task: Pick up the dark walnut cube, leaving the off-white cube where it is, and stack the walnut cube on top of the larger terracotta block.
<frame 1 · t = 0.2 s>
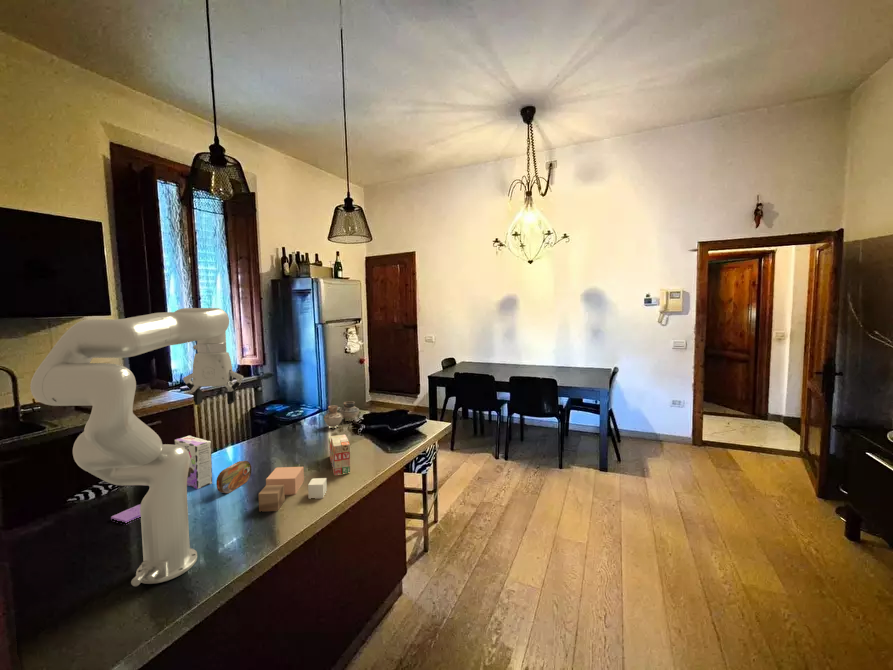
hand: (215, 403, 120), 36 cm above the countertop, tool pointing down, fingers open, 9 cm apart
pottery: (342, 424, 218), on the countertop
terracotta block: (285, 488, 141), on the countertop
sponges: (140, 514, 124), on the countertop
off-white cube: (317, 495, 136), on the countertop
walnut cube: (272, 506, 128), on the countertop
tin: (234, 487, 142), on the countertop
stack of blocks: (339, 465, 162), on the countertop
candy box: (194, 483, 145), on the countertop
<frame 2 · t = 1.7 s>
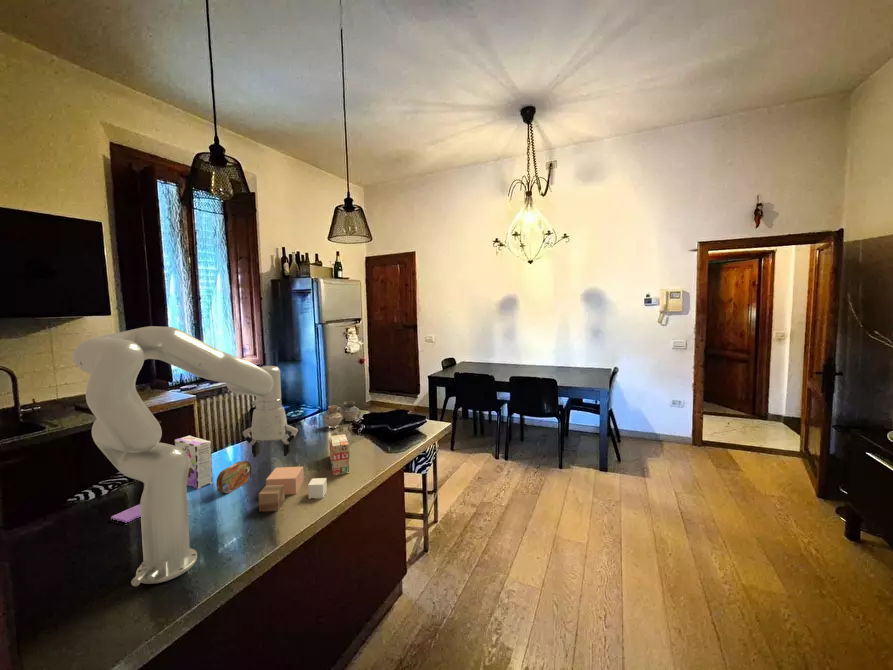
hand: (271, 455, 127), 17 cm above the countertop, tool pointing down, fingers open, 9 cm apart
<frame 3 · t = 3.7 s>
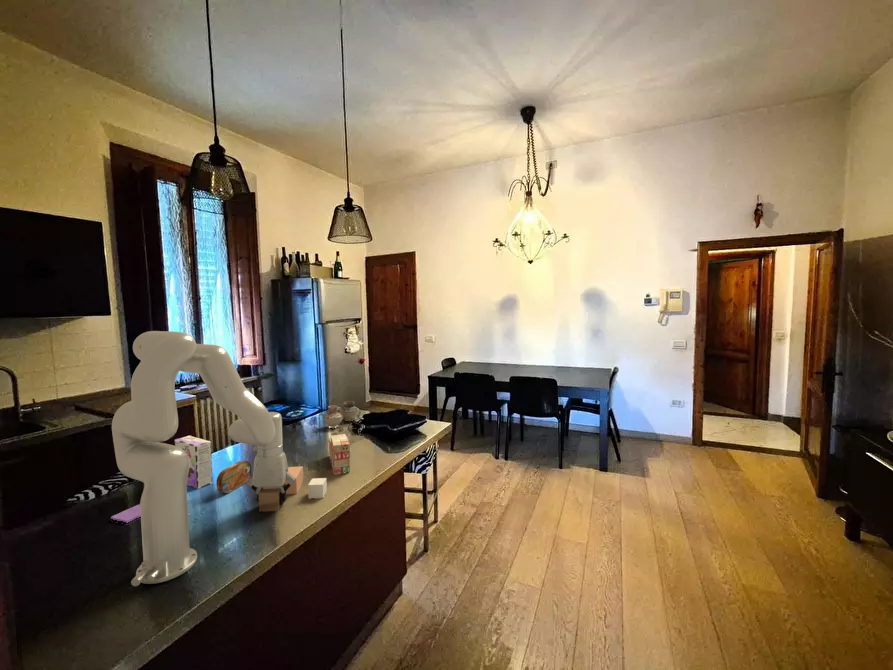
hand: (272, 502, 128), 1 cm above the countertop, tool pointing down, fingers closed on walnut cube, 6 cm apart
walnut cube: (272, 506, 128), on the countertop, touching gripper
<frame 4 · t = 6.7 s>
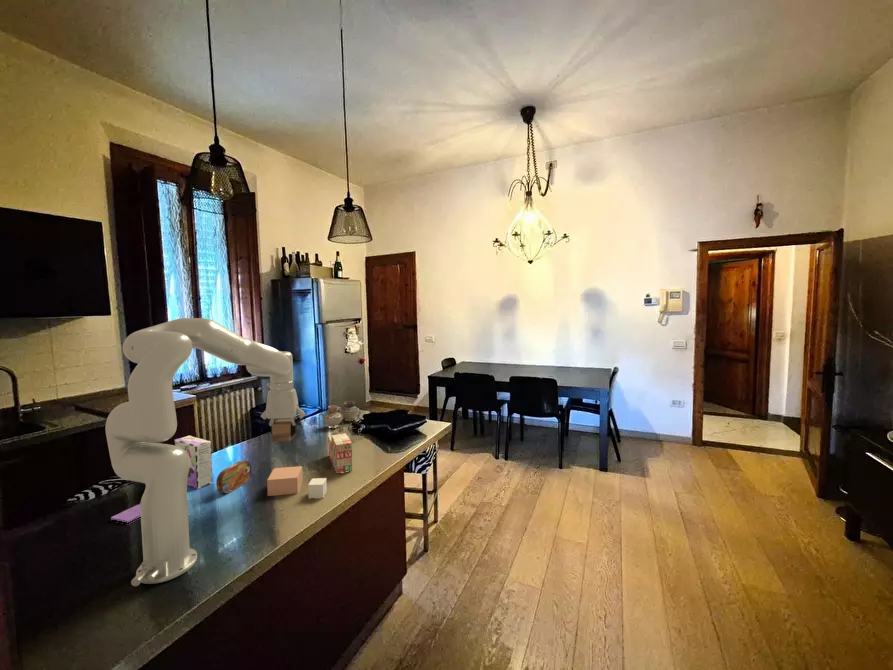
hand: (283, 435, 139), 20 cm above the countertop, tool pointing down, fingers closed on walnut cube, 6 cm apart
walnut cube: (284, 438, 139), point 19 cm above the countertop, touching gripper
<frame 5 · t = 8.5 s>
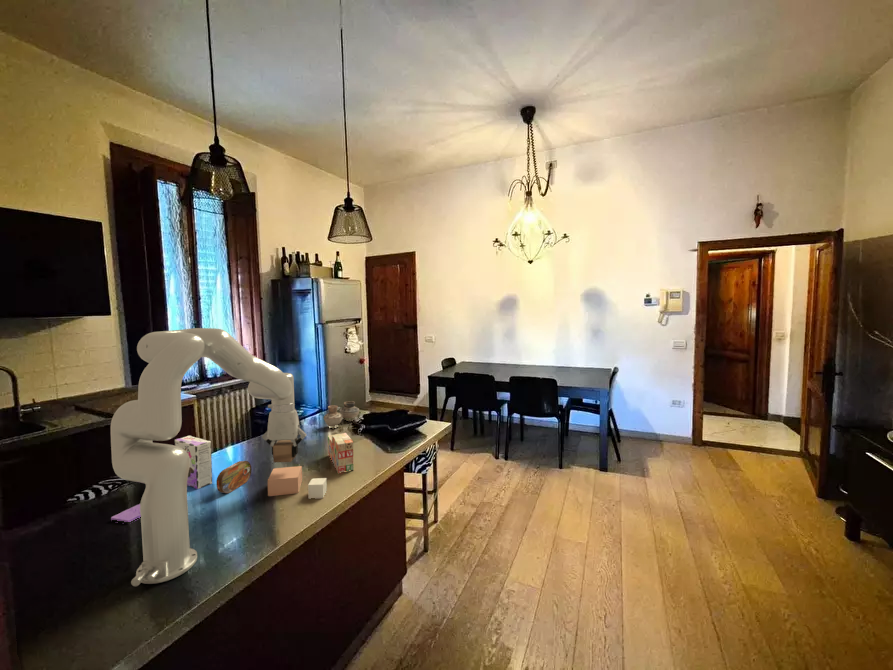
hand: (285, 455, 140), 12 cm above the countertop, tool pointing down, fingers closed on walnut cube, 6 cm apart
walnut cube: (285, 458, 140), point 11 cm above the countertop, touching gripper
when the fingers open (8 cm above the countertop, at t = 10.0 s): walnut cube drops 1 cm, resting on terracotta block.
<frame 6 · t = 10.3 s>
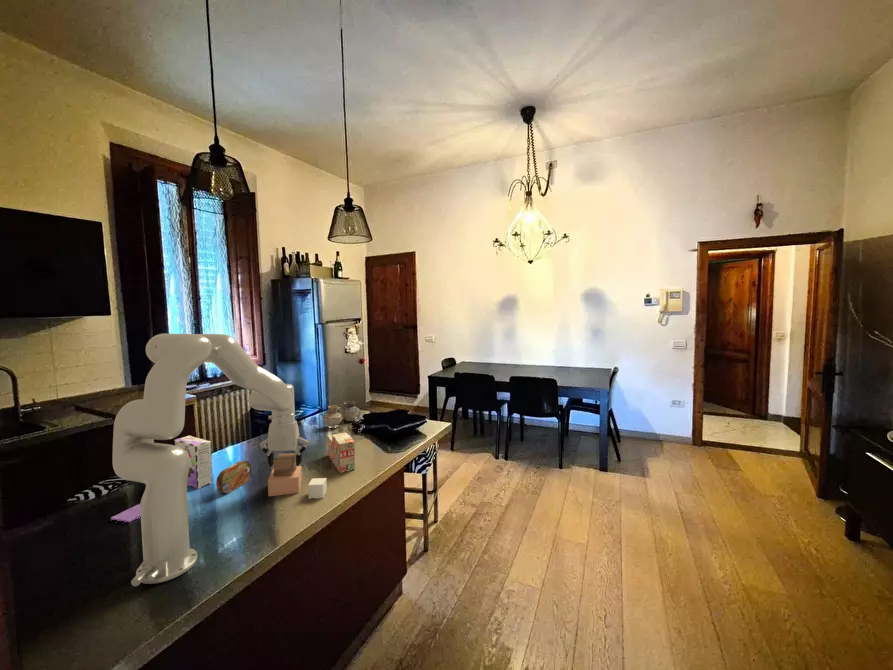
hand: (285, 464, 140), 9 cm above the countertop, tool pointing down, fingers open, 9 cm apart
terracotta block: (285, 488, 141), on the countertop, touching walnut cube
walnut cube: (285, 472, 140), point 6 cm above the countertop, touching terracotta block
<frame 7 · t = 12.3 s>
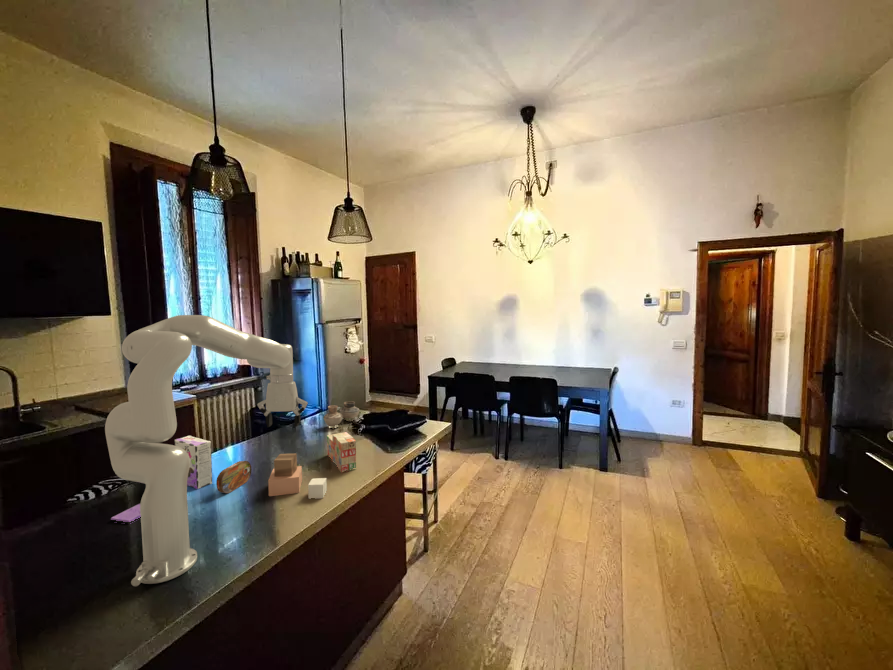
hand: (283, 425, 139), 23 cm above the countertop, tool pointing down, fingers open, 9 cm apart
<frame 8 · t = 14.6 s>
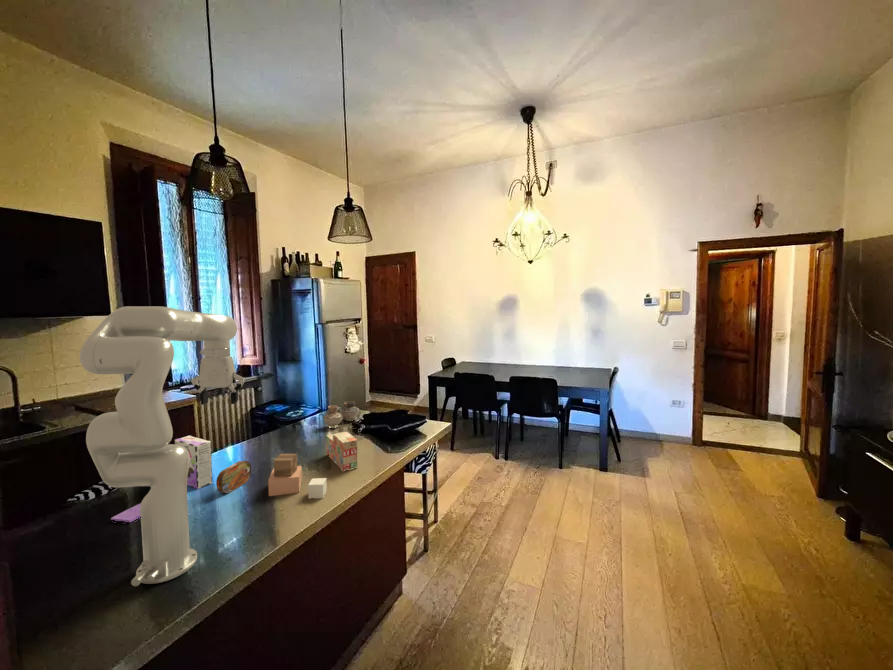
hand: (219, 403, 131), 33 cm above the countertop, tool pointing down, fingers open, 9 cm apart
at the end: walnut cube inside the target area on the terracotta block (0.4 cm from its centre), point 6.0 cm above the terracotta block's base; walnut cube tilted 0°; the gripper is holding nothing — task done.
